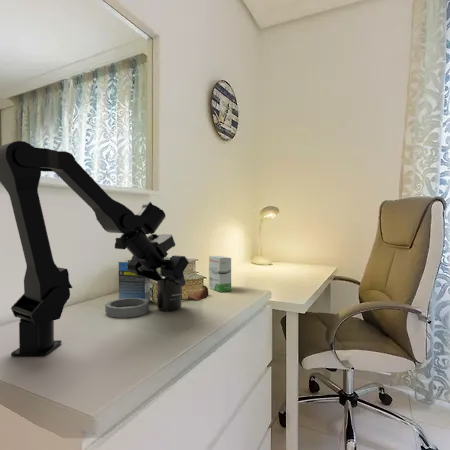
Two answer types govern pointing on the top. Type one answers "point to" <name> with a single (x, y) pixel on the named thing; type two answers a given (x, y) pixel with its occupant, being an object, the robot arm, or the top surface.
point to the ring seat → (127, 307)
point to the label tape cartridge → (132, 284)
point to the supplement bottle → (168, 294)
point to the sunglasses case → (199, 294)
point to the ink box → (220, 273)
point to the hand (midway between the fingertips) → (172, 282)
